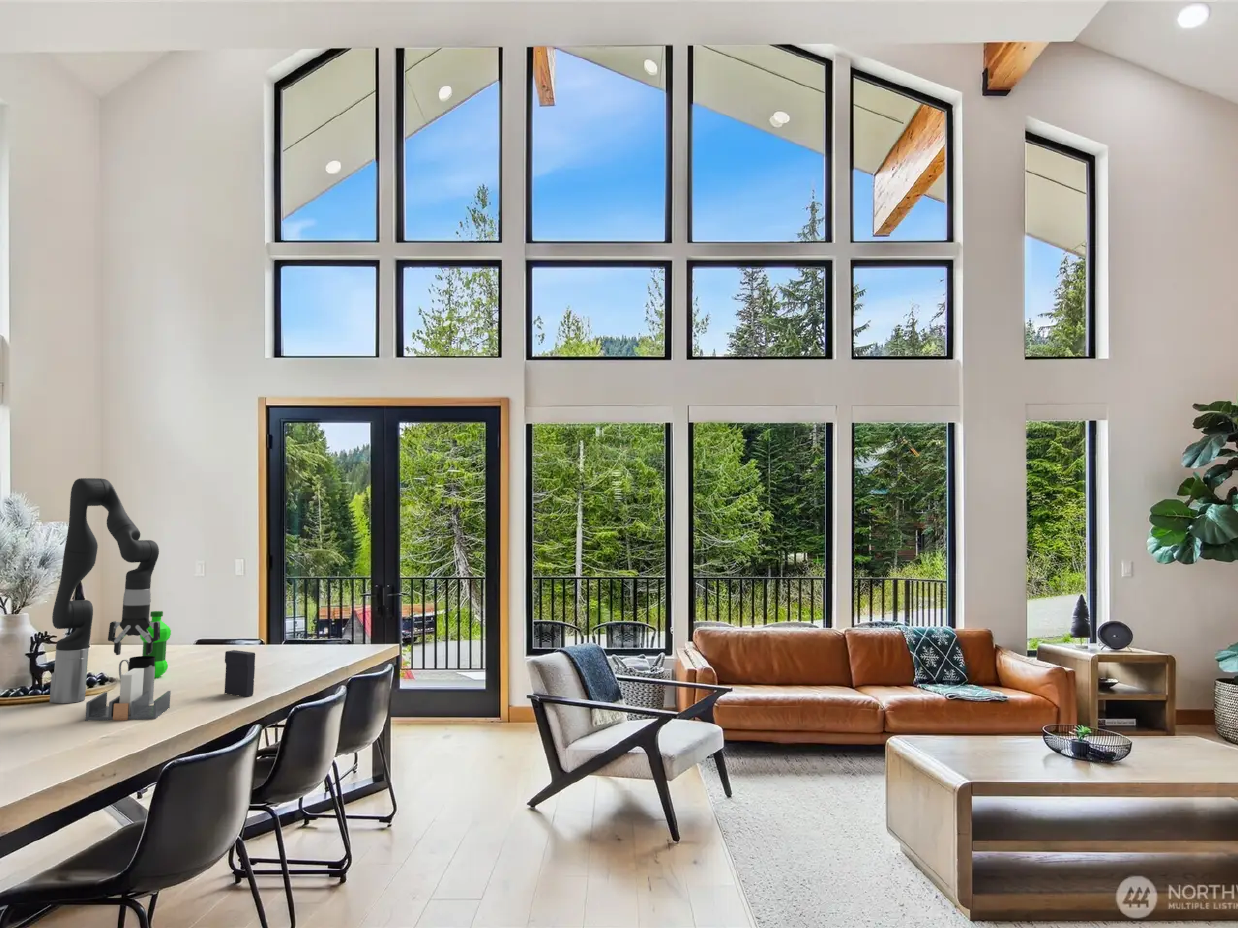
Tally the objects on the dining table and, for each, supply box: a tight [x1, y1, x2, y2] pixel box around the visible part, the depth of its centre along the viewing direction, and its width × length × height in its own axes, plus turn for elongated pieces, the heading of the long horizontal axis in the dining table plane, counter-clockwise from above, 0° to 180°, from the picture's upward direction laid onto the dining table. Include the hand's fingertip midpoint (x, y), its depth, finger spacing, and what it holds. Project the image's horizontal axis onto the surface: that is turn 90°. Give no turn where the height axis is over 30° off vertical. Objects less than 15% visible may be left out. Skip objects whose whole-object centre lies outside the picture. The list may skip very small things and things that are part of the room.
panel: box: [119, 668, 144, 714], centre depth 264 cm, size 3×12×12 cm, turn 14°
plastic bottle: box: [139, 610, 172, 679], centre depth 322 cm, size 10×10×25 cm
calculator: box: [224, 649, 256, 698], centre depth 294 cm, size 11×4×15 cm, turn 65°
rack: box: [84, 690, 172, 722], centre depth 262 cm, size 19×16×6 cm
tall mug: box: [118, 655, 155, 705], centre depth 278 cm, size 9×14×15 cm, turn 71°
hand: (133, 654), depth 263 cm, fingers open, 8 cm apart
